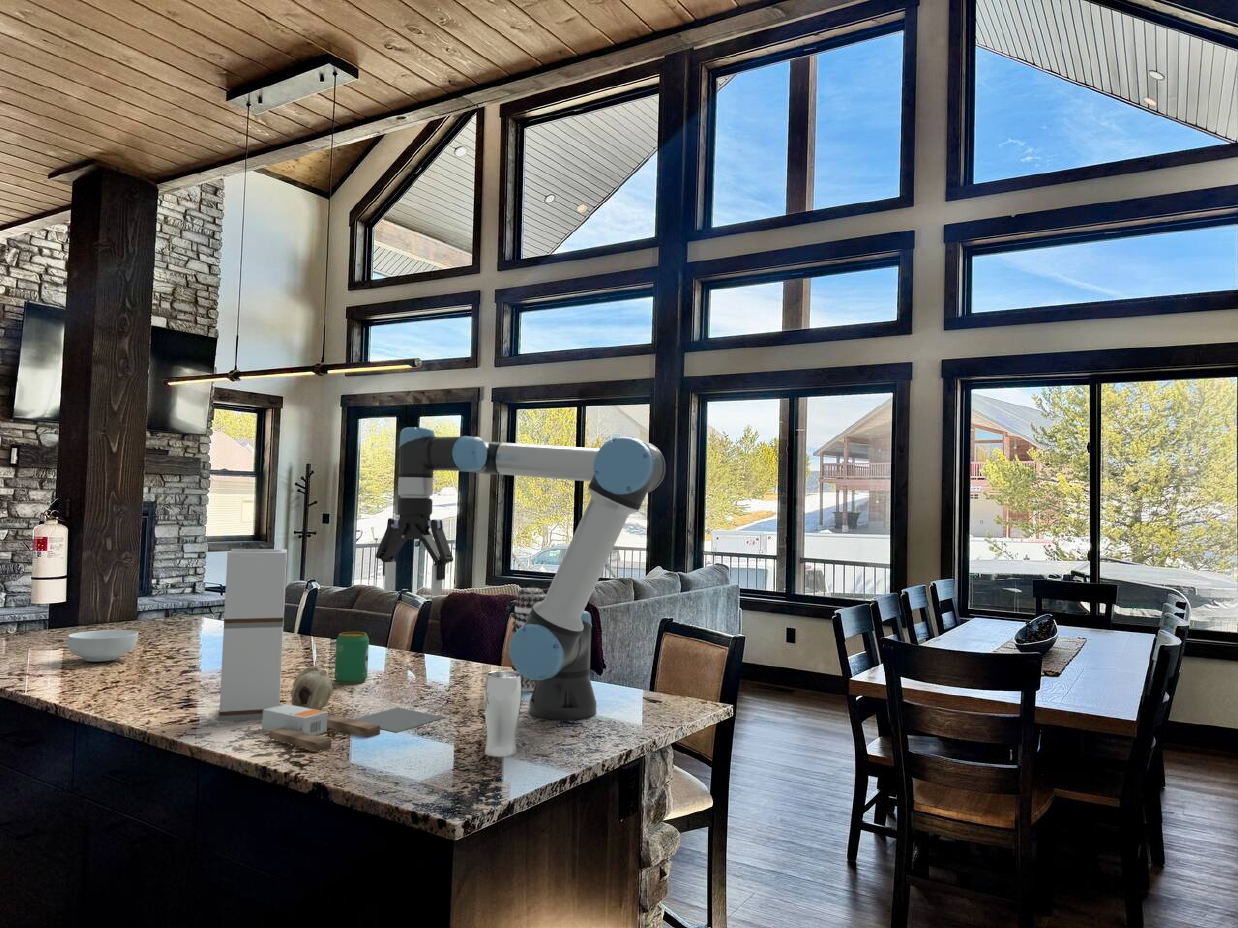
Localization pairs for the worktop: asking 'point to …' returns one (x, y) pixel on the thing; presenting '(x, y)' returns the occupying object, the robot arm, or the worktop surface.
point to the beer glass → (502, 712)
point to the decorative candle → (522, 611)
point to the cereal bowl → (102, 644)
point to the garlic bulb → (311, 688)
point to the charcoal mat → (399, 719)
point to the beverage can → (351, 657)
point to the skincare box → (295, 719)
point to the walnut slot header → (323, 743)
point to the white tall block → (252, 632)
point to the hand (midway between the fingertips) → (412, 593)
